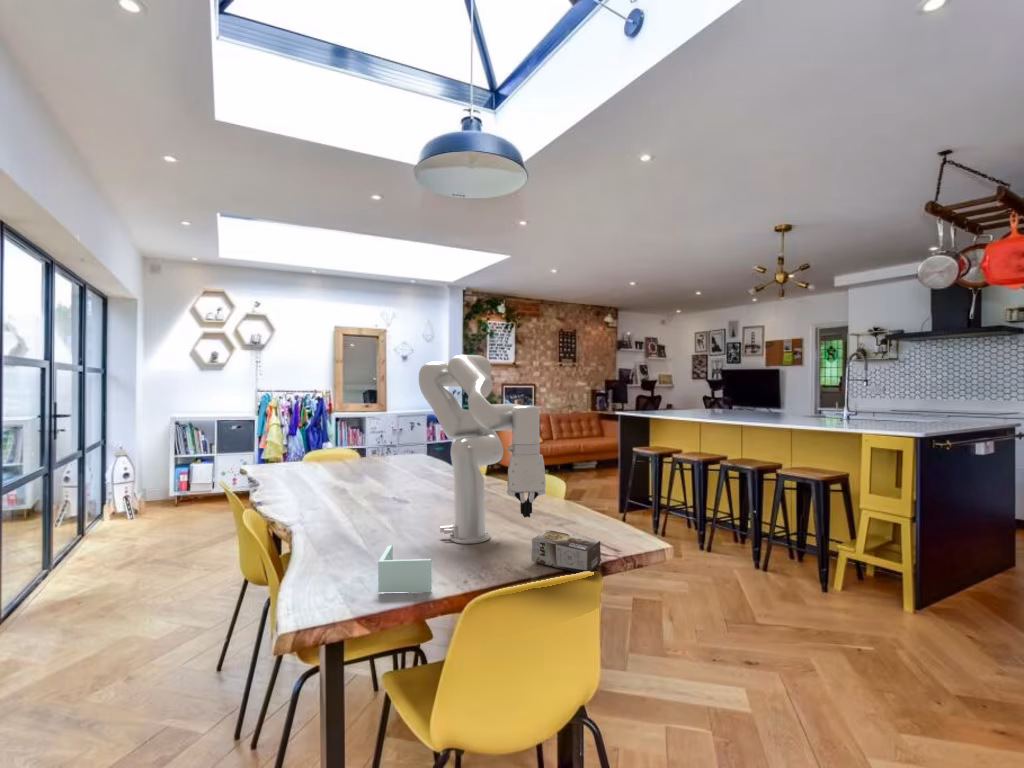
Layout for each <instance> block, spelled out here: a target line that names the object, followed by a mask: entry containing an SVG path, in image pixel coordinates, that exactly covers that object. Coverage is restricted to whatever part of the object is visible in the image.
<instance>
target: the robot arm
mask: <svg viewBox="0 0 1024 768" xmlns="http://www.w3.org/2000/svg"><path fill="white" fill-rule="evenodd" d="M491 373H492V366H491V362H490V361H489V360H488V358H487V357H486V356H483V355H480V354H479V355H477V354H458V355H455V356H453V357H451V358H450V359H449V361H441V360H438V361H437V360H435V361H429V362H427V363H424V364H423V365H422V366H421V367H420V369H419V372H418V384H419V389H420V391H421V394H422V395H423V398H424V399H425V400H426V402H427V403H428V405H429V406H430V408H432V411H433V412H434V415H435V417H436V419H437V421H438V423H439V425H440V428H441V429H442V431H443V433H444V434H445V436H446V437H447V438H448V439H450V440H454V442H453V443H452V444H451V446H450V459H451V465H452V470H453V490H454V491H453V492H454V494H453V495H454V497H453V498H454V500H453V501H454V502H453V503H454V506H453V507H454V521H452V522H453V523H452V524H450V525H440V526H439V532H440V533H443V534H444V535H445V534H449V540H450V541H452V542H453V543H456V544H463V545H467V544H468V545H469V544H471V545H472V544H478V543H484V542H486V541H488V540H489V539H491V533H490V532H489V531H487V530H486V506H485V505H486V502H485V500H486V498H485V497H486V495H485V494H486V493H485V492H486V491H485V490H486V489H485V478H484V476H483V473H482V472H481V470H480V469H479V468H480V467H482V466H488V465H494V464H497V463H499V462H500V461H501V460H502V458H503V455H504V448H503V444H502V441H501V439H500V437H499V435H498V432H499V431H511V430H512V432H511V433H512V434H511V435H512V437H511V439H512V441H511V442H512V443H511V445H508V446H507V447H506V450H507V452H511V453H512V454H510V455H509V458H508V459H509V460H508V466H507V467H508V469H507V492H506V494H507V496H509V497H514V498H516V499H517V500H519V503H520V514H521V515H522V517H523V518H531V514H533V503H534V501H535V500H536V499H537V497H539V496H542V495H545V494H546V487H547V481H546V470H545V469H546V468H545V460H544V456H543V454H540V453H541V452H540V450H541V449H540V445H541V444H540V409H539V407H538V406H536V405H532V404H529V405H527V404H525V405H524V404H519V403H495V404H492V403H490V402H489V401H488V400H487V399H486V398H487V397H488V396H489V394H491V392H492V390H493V387H494V386H493V385H494V383H493V380H492V378H491V377H490V376H491ZM445 387H460V388H461V389H462V390H463V391H464V392H465V393H466V394H467V396H468V398H467V404H468V405H467V406H468V409H465V408H462V406H461V405H460V404H459V402H458V399H457V398H456V397H455V395H454V394H453V393H451V391H450V390H448V389H446V388H445ZM525 493H527V496H526V497H527V498H525Z"/></svg>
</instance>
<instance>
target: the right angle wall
mask: <svg viewBox="0 0 1024 768" xmlns="http://www.w3.org/2000/svg"><path fill="white" fill-rule="evenodd" d="M393 553H394V552H393V545H392V544H390V545H387V547H386V548H385V550H384V552H383V553H382V554H381V556H380V558H379V560H378V561H377V562H378V563H377V565H378V568H377V569H378V570H377V572H378V573H377V576H378V577H377V578H378V579H377V580H378V581H377V582H378V587H377V588H378V593H379V592H431V593H432V591H431V590H432V558H419V559H418V558H416V559H415V558H414V559H394V557H393Z"/></svg>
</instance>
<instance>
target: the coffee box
mask: <svg viewBox="0 0 1024 768" xmlns="http://www.w3.org/2000/svg"><path fill="white" fill-rule="evenodd" d="M530 559H531V561H532V562H534V563H538V564H541V565H545V566H549V567H553V568H558V569H561V570H565V571H569V572H572V573H576V572H583V571H591V570H593V571H594V570H595V569H596V568H597V567H598V566H599V565H600V564H601V560H602V557H601V540H599V539H595V538H590V537H589V538H588V537H584V536H580V535H574V534H569V533H565V532H561V531H555V530H550V529H546V530H545V531H543V532H541V533H539V534H538V535H536V536H535V537H533V538H531V557H530ZM600 559H601V560H600Z"/></svg>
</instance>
